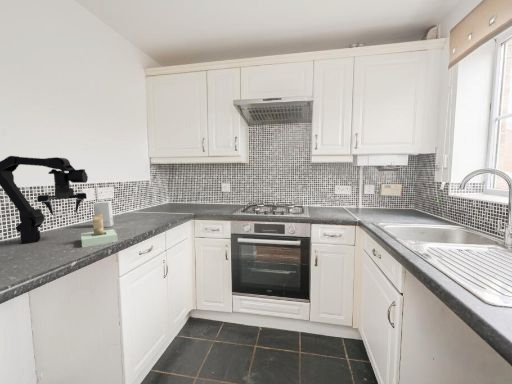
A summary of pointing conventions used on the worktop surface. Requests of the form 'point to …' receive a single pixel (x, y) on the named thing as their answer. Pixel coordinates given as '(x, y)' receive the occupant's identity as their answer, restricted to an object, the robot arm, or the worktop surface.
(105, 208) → the skincare box
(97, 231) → the beech peg
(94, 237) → the hole block
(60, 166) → the robot arm
